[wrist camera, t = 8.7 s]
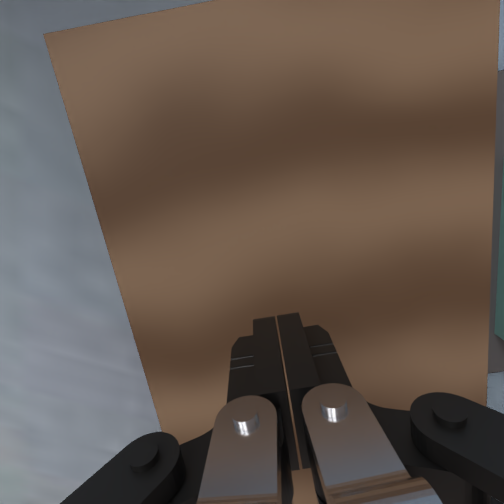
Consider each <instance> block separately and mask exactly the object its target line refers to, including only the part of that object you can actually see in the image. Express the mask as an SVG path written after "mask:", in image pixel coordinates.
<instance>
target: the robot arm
mask: <svg viewBox="0 0 504 504" xmlns="http://www.w3.org/2000/svg"><path fill="white" fill-rule="evenodd" d="M277 321H278V327H279V333H280V339H281V345H282V351H283V357H284V363H285V369H286V375H287V381H288V387H289V393H290V399H291V404H292V410H293V416H294V422H295V428H296V434H297V440H298V445H299V451H300V457H301V463H302V469H307V468H311V472H312V477H313V482H314V487H315V494H316V500H317V504H503V503H504V414H502V413H500V412H497V411H495V410H493V409H490V408H488V407H486V406H483V405H481V404H478V403H476V402H474V401H471V400H469V399H466V398H464V397H461V396H459V395H455V394H451V393H445V392H432V393H427V394H424V395H421V396H419V397H417V398H416V399H415V400H414V401H413V403H412V404H411V407H410V411H408V410H398V409H389V408H383V407H379V406H376V405H373V404H371V403H369V402H367V401H366V400H365V398H364V397H363V396H362V394H360V393H359V392H358V391H357V390H355V389H354V388H353V387H352V385H351V383H350V381H349V378H348V376H347V374H346V372H345V369H344V367H343V365H342V362H341V360H340V358H339V356H338V353H337V351H336V349H335V346H334V344H333V342H332V340H331V337H330V335H329V333H328V332H327V331H326V330H325V329H323V328H322V327H321V326H319V325H312V326H306V327H303V324H302V321H301V318H300V315H299V312H296V313H289V314H283V315H277ZM294 470H300V468H299V461H298V455H297V449H296V442H295V436H294V430H293V423H292V417H291V411H290V404H289V398H288V392H287V385H286V379H285V373H284V367H283V361H282V355H281V349H280V343H279V338H278V332H277V326H276V320H275V316H271V317H265V318H259V319H253V335H250V336H244V337H239V338H238V339H237V341H236V342H235V343H234V345H233V346H232V349H231V361H230V371H229V381H228V392H227V403H226V405H225V406H224V407H223V408H222V409H221V410H220V411H219V413H218V414H217V416H216V419H215V423H214V427H213V428H212V429H211V430H210V431H208V432H207V433H205V434H203V435H201V436H199V437H197V438H195V439H192V440H190V441H188V442H185V443H183V444H181V445H179V443H178V441H177V439H176V438H175V437H174V436H173V435H171V434H169V433H165V432H154V433H150V434H147V435H144V436H142V437H140V438H138V439H136V440H134V441H133V442H131V443H130V444H129V445H127V446H126V447H125V448H124V449H123V450H122V451H120V452H119V453H118V454H117V455H116V456H115V457H113V458H112V459H111V460H110V461H109V462H108V463H107V464H105V465H104V466H103V467H102V468H101V469H100V470H98V471H97V472H96V473H95V474H94V475H93V476H91V477H90V478H89V479H88V480H87V481H86V482H84V483H83V484H82V485H81V486H80V487H79V488H78V489H76V490H75V491H74V492H73V493H72V494H71V495H69V496H68V497H67V498H66V499H65V500H64V501H62V502H61V503H60V504H294V503H293V494H294V487H293V479H292V472H291V471H294ZM491 496H492V497H491ZM496 499H497V500H496Z"/></svg>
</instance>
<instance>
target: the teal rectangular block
mask: <svg viewBox="0 0 504 504" xmlns="http://www.w3.org/2000/svg"><path fill="white" fill-rule="evenodd" d="M494 334H496V335H497V336H499V337H500V338H501V339H503V340H504V162H503V181H502V200H501V218H500V237H499V256H498V275H497V294H496V313H495V332H494Z"/></svg>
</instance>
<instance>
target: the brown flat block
mask: <svg viewBox="0 0 504 504" xmlns="http://www.w3.org/2000/svg"><path fill="white" fill-rule="evenodd" d="M499 13H500V0H213V1H208V2H203V3H198V4H193V5H188V6H183V7H178V8H173V9H168V10H163V11H158V12H153V13H148V14H143V15H137V16H132V17H127V18H122V19H117V20H112V21H107V22H102V23H97V24H92V25H87V26H82V27H77V28H72V29H67V30H62V31H56V32H51V33H46V34H43V35H44V38H45V42H46V45H47V48H48V52H49V55H50V58H51V62H52V65H53V68H54V72H55V75H56V78H57V82H58V85H59V88H60V92H61V95H62V99H63V102H64V105H65V109H66V112H67V115H68V119H69V122H70V125H71V129H72V132H73V135H74V139H75V142H76V145H77V149H78V152H79V155H80V159H81V162H82V165H83V169H84V172H85V175H86V179H87V182H88V185H89V189H90V192H91V195H92V199H93V202H94V205H95V209H96V212H97V215H98V219H99V222H100V225H101V229H102V232H103V235H104V239H105V242H106V245H107V249H108V252H109V255H110V259H111V262H112V265H113V269H114V272H115V275H116V279H117V282H118V286H119V289H120V292H121V296H122V299H123V302H124V306H125V309H126V312H127V316H128V319H129V322H130V326H131V329H132V332H133V336H134V339H135V342H136V346H137V349H138V352H139V356H140V359H141V362H142V366H143V369H144V372H145V376H146V379H147V382H148V386H149V389H150V392H151V396H152V399H153V402H154V406H155V409H156V412H157V416H158V419H159V422H160V426H161V429H162V432H165V433H169V434H171V435H173V436H174V437H175V438H176V439H177V441H178V443H179V445H181V444H183V443H185V442H188V441H190V440H192V439H195V438H197V437H199V436H201V435H203V434H205V433H207V432H208V431H210V430H211V429H212V428H213V427H214V423H215V419H216V416H217V414H218V413H219V411H220V410H221V409H222V408H223V407H224V406H225V405H226V403H227V392H228V381H229V371H230V361H231V349H232V346H233V345H234V343H235V342H236V341H237V339H238V338H239V337H244V336H250V335H253V319H259V318H265V317H271V316H275V320H276V326H277V332H278V338H279V343H280V349H281V355H282V361H283V367H284V373H285V379H286V385H287V392H288V398H289V404H290V411H291V417H292V423H293V430H294V436H295V442H296V449H297V455H298V461H299V468H300V470H294V471H291V472H292V479H293V487H294V494H293V503H294V504H317V500H316V494H315V487H314V482H313V477H312V472H311V468H307V469H302V463H301V457H300V451H299V445H298V440H297V434H296V428H295V422H294V416H293V410H292V404H291V399H290V393H289V387H288V381H287V375H286V369H285V363H284V357H283V351H282V345H281V339H280V333H279V327H278V321H277V315H283V314H289V313H296V312H299V315H300V318H301V321H302V324H303V327H306V326H312V325H319V326H321V327H322V328H323V329H325V330H326V331H327V332H328V333H329V335H330V337H331V340H332V342H333V344H334V346H335V349H336V351H337V353H338V356H339V358H340V360H341V362H342V365H343V367H344V369H345V372H346V374H347V376H348V378H349V381H350V383H351V385H352V387H353V388H354V389H355V390H357V391H358V392H359V393H360V394H362V396H363V397H364V398H365V400H366V401H367V402H369V403H371V404H373V405H376V406H379V407H383V408H389V409H398V410H408V411H410V407H411V404H412V403H413V401H414V400H415V399H416V398H417V397H419V396H421V395H424V394H427V393H432V392H445V393H451V394H455V395H459V396H461V397H464V398H466V399H469V400H471V401H474V402H476V403H478V404H481V405H483V406H486V405H487V375H488V344H489V314H490V284H491V254H492V224H493V194H494V164H495V134H496V103H497V73H498V43H499Z"/></svg>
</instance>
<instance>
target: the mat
mask: <svg viewBox="0 0 504 504" xmlns="http://www.w3.org/2000/svg"><path fill="white" fill-rule="evenodd" d="M503 162H504V70H501V71H498V73H497V103H496V134H495V164H494V194H493V224H492V254H491V284H490V314H489V344H488V373H494V372H501V371H504V340H503V339H501V338H500V337H499V336H497V335H496V334H494V332H495V313H496V294H497V275H498V256H499V237H500V218H501V200H502V181H503Z"/></svg>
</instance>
